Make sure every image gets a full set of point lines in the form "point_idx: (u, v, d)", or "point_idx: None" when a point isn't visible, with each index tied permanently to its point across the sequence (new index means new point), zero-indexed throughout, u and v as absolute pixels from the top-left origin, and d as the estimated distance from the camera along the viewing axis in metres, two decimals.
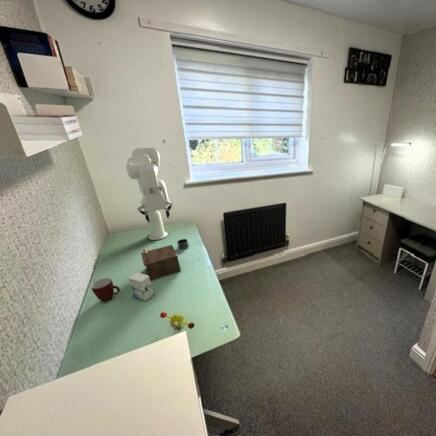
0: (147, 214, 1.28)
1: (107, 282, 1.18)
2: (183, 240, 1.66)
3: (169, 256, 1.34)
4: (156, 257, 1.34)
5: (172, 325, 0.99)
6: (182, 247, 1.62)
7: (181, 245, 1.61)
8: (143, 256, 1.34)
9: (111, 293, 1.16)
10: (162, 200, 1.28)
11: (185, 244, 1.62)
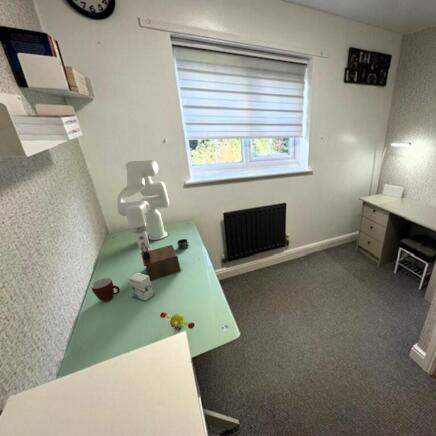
0: (142, 248, 1.33)
1: (107, 282, 1.18)
2: (183, 240, 1.66)
3: (169, 256, 1.34)
4: (156, 257, 1.34)
5: (172, 325, 0.99)
6: (182, 247, 1.62)
7: (181, 245, 1.61)
8: None
9: (111, 293, 1.16)
10: (137, 241, 1.24)
11: (185, 244, 1.62)
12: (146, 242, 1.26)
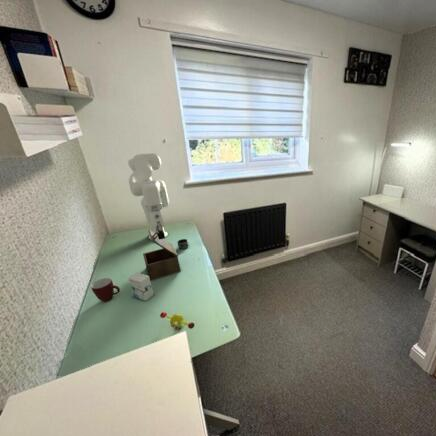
0: (157, 228, 1.34)
1: (107, 282, 1.18)
2: (183, 240, 1.66)
3: (172, 251, 1.34)
4: (162, 243, 1.33)
5: (172, 325, 0.99)
6: (182, 247, 1.62)
7: (181, 245, 1.61)
8: (151, 233, 1.32)
9: (111, 293, 1.16)
10: (152, 220, 1.25)
11: (185, 244, 1.62)
12: (161, 221, 1.27)
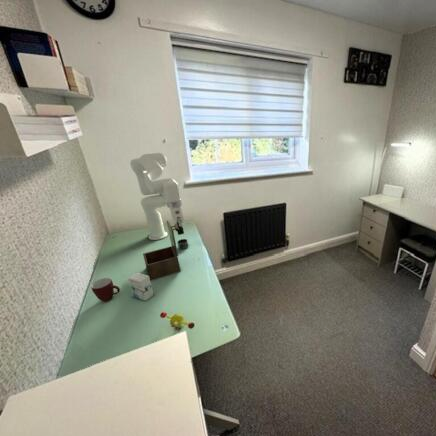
0: (176, 224, 1.39)
1: (107, 282, 1.18)
2: (183, 240, 1.66)
3: (176, 249, 1.35)
4: None
5: (172, 325, 0.99)
6: (182, 247, 1.62)
7: (181, 245, 1.61)
8: (169, 224, 1.37)
9: (111, 293, 1.16)
10: (173, 216, 1.30)
11: (185, 244, 1.62)
12: (181, 217, 1.32)
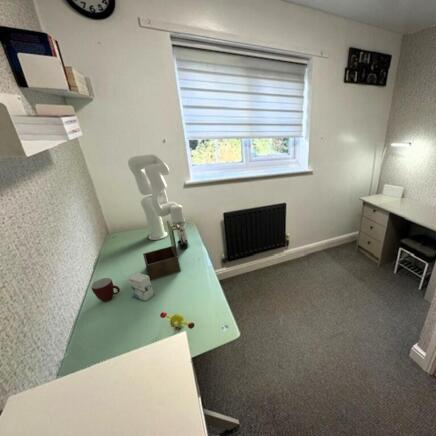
0: None
1: (107, 282, 1.18)
2: None
3: (176, 249, 1.35)
4: None
5: (172, 325, 0.99)
6: None
7: None
8: None
9: (111, 293, 1.16)
10: (178, 233, 1.56)
11: None
12: (185, 234, 1.58)
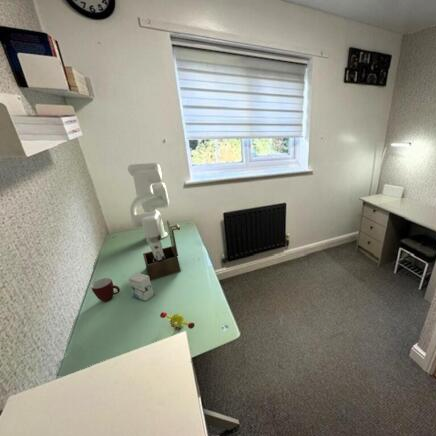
0: None
1: (107, 282, 1.18)
2: None
3: (176, 249, 1.35)
4: None
5: (172, 325, 0.99)
6: None
7: None
8: None
9: (111, 293, 1.16)
10: (152, 250, 1.30)
11: None
12: (161, 251, 1.32)
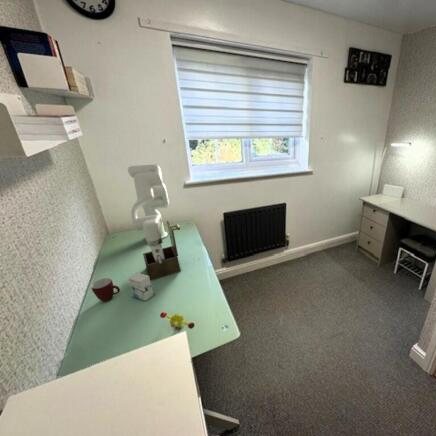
0: None
1: (107, 282, 1.18)
2: None
3: (176, 249, 1.35)
4: None
5: (172, 325, 0.99)
6: None
7: None
8: None
9: (111, 293, 1.16)
10: (153, 254, 1.31)
11: None
12: (161, 254, 1.33)
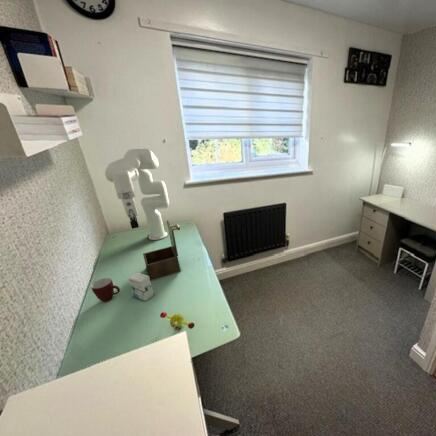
0: None
1: (107, 282, 1.18)
2: (160, 260, 1.41)
3: (176, 249, 1.35)
4: None
5: (172, 325, 0.99)
6: None
7: None
8: None
9: (111, 293, 1.16)
10: (124, 208, 1.19)
11: None
12: (134, 209, 1.21)
